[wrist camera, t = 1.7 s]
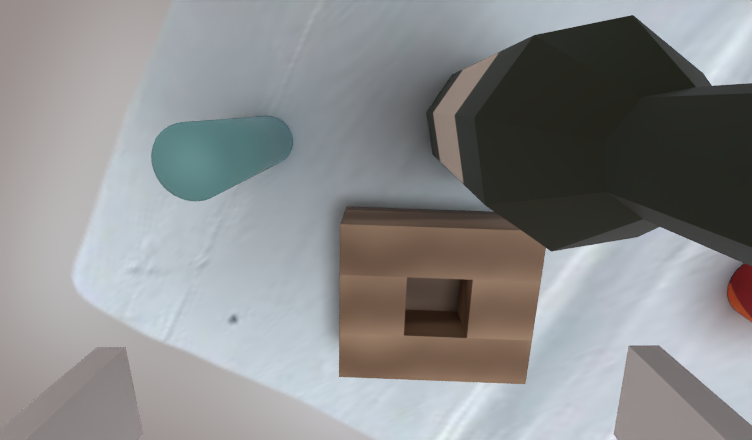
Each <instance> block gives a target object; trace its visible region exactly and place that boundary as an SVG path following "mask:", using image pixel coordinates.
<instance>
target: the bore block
mask: <svg viewBox="0 0 752 440" xmlns="http://www.w3.org/2000/svg"><path fill="white" fill-rule="evenodd" d="M545 249H546V247H544V246H543V245H541V244H540V243H539V242H537V241H536V240H534V239H533V238H531V237H530V236H529V235H527V234H526V233H524V232H523V231H521V230H520V229H519V228H517V227H516V226H514V225H513V224H511V223H510V222H509V221H507V220H506V219H504V218H503V217H501V216H500V215H499V214H497V213H496V212H485V211H456V210H427V209H397V208H368V207H347V208H346V210H345V213H344V216H343V218H342V221H341V224H340V335H339V377H358V378H384V379H409V380H435V381H460V382H485V383H511V384H525V382H526V376H527V369H528V362H529V356H530V349H531V343H532V336H533V329H534V323H535V316H536V309H537V303H538V296H539V289H540V283H541V276H542V269H543V263H544V256H545Z"/></svg>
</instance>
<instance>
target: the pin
mask: <svg viewBox="0 0 752 440" xmlns="http://www.w3.org/2000/svg"><path fill="white" fill-rule="evenodd" d="M292 145H293V139H292V134H291V132H290V130H289V128H288V126H287V125H286V124H285V123H284V122H283V121H281V120H280V119H278V118H275V117H272V116H262V117H248V118H234V119H220V120H206V121H192V122H181V123H176V124H173V125H171V126H169V127H167V128H165V129H164V130H163V131H162V132H161V133H160V134H159V135H158V137H157V138H156V140H155V142H154V145H153V148H152V155H151V158H152V166H153V169H154V172H155V174H156V177H157V178H158V180H159V182H160V183H161V184H162V185H163V186H164V187H165V189H167V190H168V191H169V192H170V193H172V194H173V195H175V196H177V197H179V198H181V199H184V200H188V201H203V200H207V199H210V198H212V197H214V196H216V195H218V194H220V193H221V192H223V191H225V190H227V189H229V188H231V187H233V186H235V185H237V184H239V183H241V182H243V181H245V180H247V179H248V178H250V177H252V176H254V175H256V174H258V173H260V172H262V171H264V170H266V169H268V168H270V167H272V166H273V165H275V164H277V163H279V162H281V161H283V160H284V159H285V158H287V156H288V155H289V154H290V152H291V149H292Z"/></svg>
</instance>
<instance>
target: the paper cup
mask: <svg viewBox="0 0 752 440" xmlns="http://www.w3.org/2000/svg"><path fill="white" fill-rule="evenodd" d="M728 300H729V302H730V304H731V306H732V307H733V308H734V309H735V310H736V311H737V312H738V313H740V314H741V315H743V316H744V317H745V318H747V319H748V320H750V321H751V322H752V266H750V265H748V264H743V265H742V266H741V267H740V268H739V269H738V270H737V271H736V272H735V273H734V275H733V276H732V278H731V280H730V282H729V285H728Z"/></svg>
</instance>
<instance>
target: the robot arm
mask: <svg viewBox="0 0 752 440" xmlns="http://www.w3.org/2000/svg"><path fill="white" fill-rule="evenodd" d="M142 434H143V431H142V426H141V421H140V416H139V412H138V406H137V401H136V396H135V392H134V387H133V382H132V377H131V372H130V367H129V362H128V357H127V352H126V347H97V348H96V349H94V350H93V351H92V352H91V353H90V354H89V355H87V356H86V357H85V358H84V359H82V360H81V361H80V362H79V363H78V364H76V365H75V366H74V367H73V368H72V369H70V370H69V371H68V372H67V373H66V374H64V375H63V376H62V377H61V378H60V379H58V380H57V381H56V382H55V383H54V384H53V385H51V386H50V387H49V388H48V389H46V390H45V391H44V392H43V393H42V394H40V395H39V396H38V397H37V398H36V399H34V400H33V401H32V402H31V403H30V404H28V405H27V406H26V407H25V408H24V409H22V410H21V411H20V412H19V413H18V414H16V415H15V416H14V417H13V418H12V419H10V420H9V421H8V422H7V423H6V424H5V425H3V426H2V427H1V428H0V440H138V439H139V438H140V436H141V435H142ZM614 435H615V437H616V438H617V439H618V440H752V425H750V424H749V423H748V422H747V421H746V420H745V419H743V418H742V417H741V416H740V415H739V414H738V413H737V412H735V411H734V410H733V409H732V408H731V407H730V406H728V405H727V404H726V403H725V402H724V401H723V400H721V399H720V398H719V397H718V396H717V395H716V394H714V393H713V392H712V391H711V390H710V389H709V388H708V387H706V386H705V385H704V384H703V383H702V382H701V381H699V380H698V379H697V378H696V377H695V376H694V375H692V374H691V373H690V372H689V371H688V370H687V369H685V368H684V367H683V366H682V365H681V364H680V363H679V362H677V361H676V360H675V359H674V358H673V357H672V356H670V355H669V354H668V353H667V352H666V351H665V350H663V349H662V348H661V347H660V346H629V347H628V353H627V359H626V365H625V371H624V377H623V382H622V388H621V394H620V400H619V406H618V412H617V418H616V424H615V430H614Z"/></svg>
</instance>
